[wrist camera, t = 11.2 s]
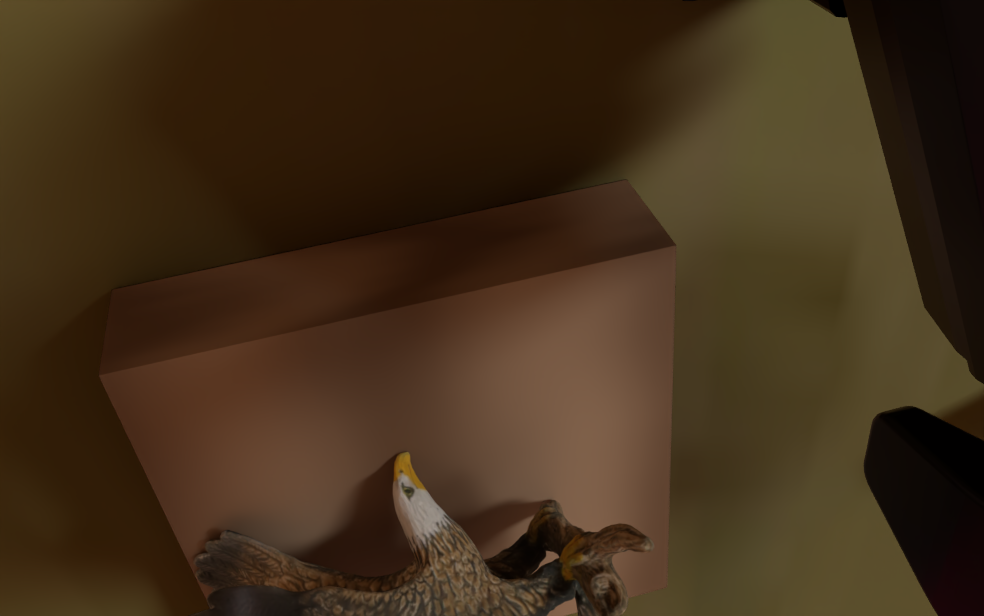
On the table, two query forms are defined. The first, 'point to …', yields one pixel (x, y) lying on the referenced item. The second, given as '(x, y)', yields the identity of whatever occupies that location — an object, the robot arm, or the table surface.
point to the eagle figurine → (428, 569)
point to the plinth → (413, 384)
